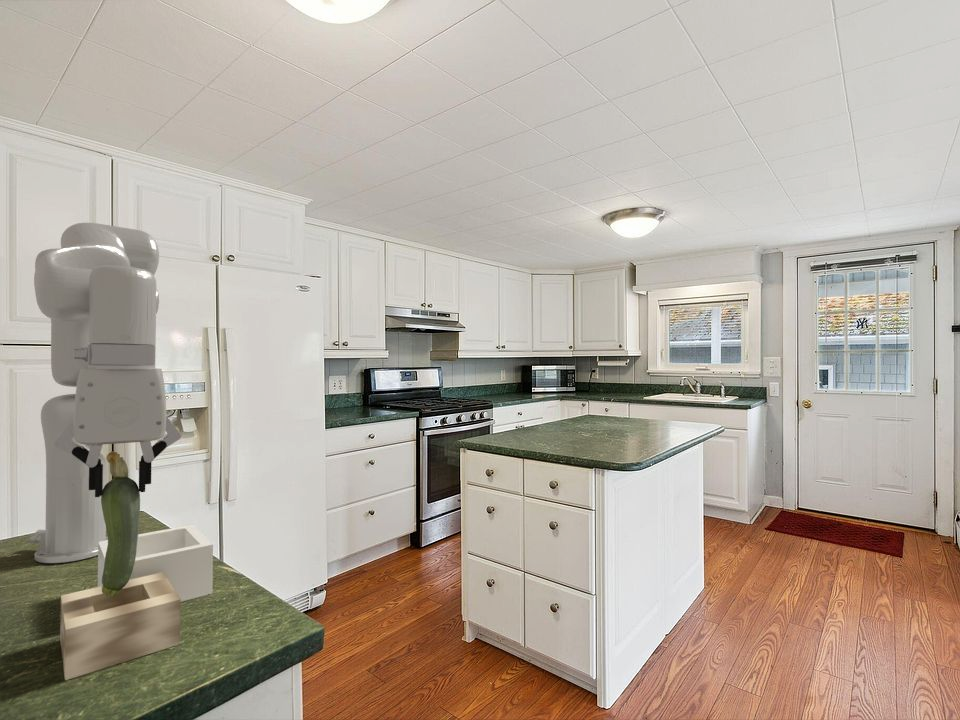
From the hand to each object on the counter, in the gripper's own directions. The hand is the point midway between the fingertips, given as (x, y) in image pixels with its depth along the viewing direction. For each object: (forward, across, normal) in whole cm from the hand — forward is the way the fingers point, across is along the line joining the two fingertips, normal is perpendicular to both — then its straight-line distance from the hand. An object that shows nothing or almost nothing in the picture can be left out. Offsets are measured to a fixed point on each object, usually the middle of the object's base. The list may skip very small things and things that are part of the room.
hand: (120, 491), depth 69 cm
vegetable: (+15, 0, 0) cm, 15 cm away
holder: (+20, 0, -1) cm, 20 cm away
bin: (+21, +5, +15) cm, 26 cm away
